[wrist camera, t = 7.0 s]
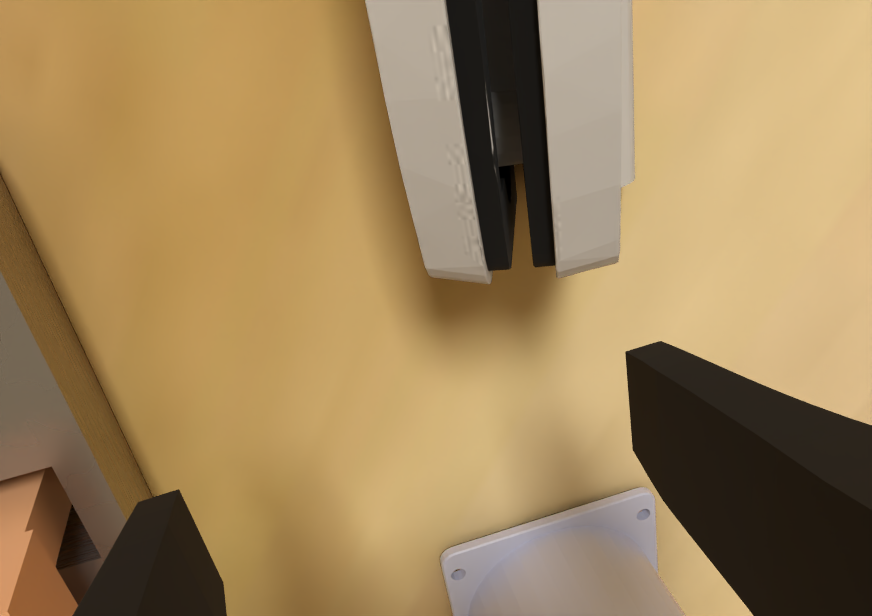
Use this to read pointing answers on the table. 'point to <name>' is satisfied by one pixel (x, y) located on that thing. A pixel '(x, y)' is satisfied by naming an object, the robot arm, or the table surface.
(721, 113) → the table surface
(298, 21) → the table surface
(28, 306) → the rail
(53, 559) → the clip
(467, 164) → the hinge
